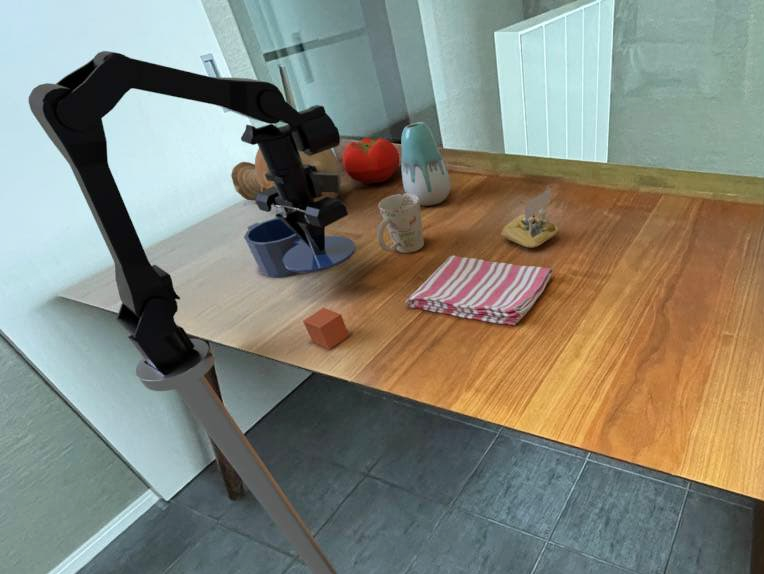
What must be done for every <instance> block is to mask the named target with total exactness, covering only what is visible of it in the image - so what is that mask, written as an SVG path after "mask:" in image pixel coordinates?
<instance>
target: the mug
mask: <svg viewBox="0 0 764 574" xmlns="http://www.w3.org/2000/svg"><path fill="white" fill-rule="evenodd" d="M378 209H379V211H380V214H381V216H382V219H383V220H381V221H380V223H379V224H378V227H377V241H378V244H379V246H380V248H381V249H382V250H384V251H385V252H393V251H395V250H396V251H398V252H399V253H403V254H409V253H415V252H417V251H420V250H421V249H422V248H423V247H424V245H425V239H424V231H423V221H422V213H421V205H420V203H419V198H418V197H417V196H416V195H413V194H406V193H398V194H393V195H390V196H387V197H385V198H383V199H382V200H381V201H379V203H378ZM385 228H387V230H388V233H389V235H390V237H391V239H392V242H393V244H392V245H391V246H388V245H387V244H386V242H385V240H384V236H383V235H384V229H385Z"/></svg>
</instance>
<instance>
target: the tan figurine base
mask: <svg viewBox="0 0 764 574" xmlns="http://www.w3.org/2000/svg"><path fill="white" fill-rule="evenodd" d="M551 195H552V187H551V186H550V187H548V188H547V189H546V190H544V191H543V192H542V193H540V194H538V195H536V196H535V197H534V198H532V199H530V201H528V202H526V203H525V204H524V213H523V214H521V215H520V216H518V217H516V218H514V219H513V220H511V221H510V222H508V223H507V224H505V226H504V227H503V228H502V230H501V232H500V237H502V238H504V239H507V240H509V241H510V242H513V243H515V244H518V245H519V246H522V247H524V248H531V249H534V248H535V247H536V248H537V247H539V246H540V245H542V244H544V243H545V242H546V241H548V240H550V239H552V238H553V237H554V236H555V235H557V234H558V232H559V227H558V226H557V225H556V224H554V222H551V221H550V220H547V219H546V215H547V214H548V209H545V207H547V206H548V205H549V204H550V203H551V198H552V197H551ZM565 202H567V200H565ZM537 213H538V214H539V215H538V216H536V214H537Z"/></svg>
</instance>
